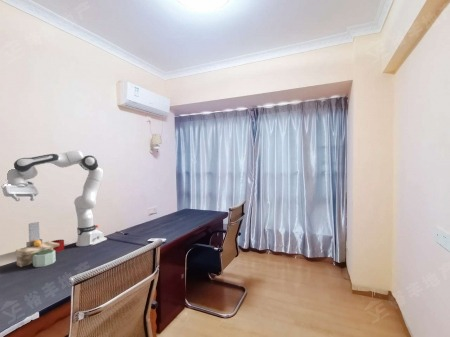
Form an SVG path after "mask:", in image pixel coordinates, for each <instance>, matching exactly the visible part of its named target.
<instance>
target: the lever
mask: <svg viewBox="0 0 450 337" xmlns="http://www.w3.org/2000/svg"><path fill="white" fill-rule="evenodd" d="M50 242H54V243H59V246H57V247H54V248H53V250H55V253H58V252H62V251H64V250H65V240H64V239H56V240H55V239H54V240H51V241H50Z"/></svg>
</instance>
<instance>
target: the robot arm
mask: <svg viewBox="0 0 450 337" xmlns="http://www.w3.org/2000/svg"><path fill="white" fill-rule="evenodd" d="M44 164H53V165H55V166H57V167H59V168H68V167H70V166H73V165H79V166H80V167H81V168H82V169H83V170H85V171H87V172H88V174H87V177H86V179H85V181H84V184H83V188H82V195H79V196H76V198H74V202H73V204H74V206H75V213H76V216H77V217H76V218H77V228H76V231H77V232H76V233H77V240H76V243H75V246H76V247H87V246H94V245H96V244H99V243H102V242H104V241H107V240H108V238H107V237H106V236H104V232H102V231H100V230H99V229H98V228H99V225H98V224H94V223H95V222H94V214H93V212H92V210H93V209H94V208H95V207H96V205H97V196H98V191H99V189H100V185H101V183H102V181H103V177H104V170H103V169H102V168H101V167H99V164H98V160H97V158H96V157H95V156H94V155H84V153H82V151H80V150H77V149H76V150H71V151H67V152H63V153H62V152H61V153H49V154H43V155H39V156H37V155H36V156H33V157H22V158H21V157H19V159H16V160H15V161H14V163H13V165H14V168H15V169H11V170H9V171H8V173H7V180H8V181H7V180H6V181H7V184H6V183H5V184H2V185H1V189H2V194H3V196H4V197H6V198H8V197H9V198H12V199H13V200H14V201H15V202H19V201H20V197H30V199H29V200H30V201H31V202H32V201H33V202H34V201H35V197H36V196H38V194H39V190H38V188H37V187H36V186H35V185H34V182H32V181H28V180H30V179H31V180H32V179H33V178H35V177H36V176H37V175H38V170H37V168H36V166H39V165H40V166H41V165H44Z"/></svg>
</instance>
